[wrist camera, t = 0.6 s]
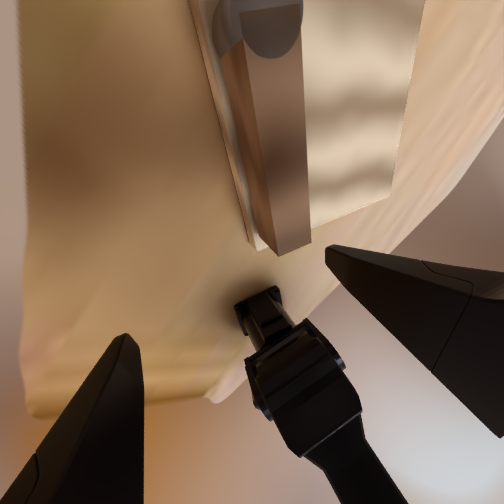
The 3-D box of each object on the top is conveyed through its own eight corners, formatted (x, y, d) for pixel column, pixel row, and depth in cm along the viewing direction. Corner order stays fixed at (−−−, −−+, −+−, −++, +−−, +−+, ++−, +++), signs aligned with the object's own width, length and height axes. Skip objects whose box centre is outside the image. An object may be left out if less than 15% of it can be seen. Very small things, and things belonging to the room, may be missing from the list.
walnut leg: (203, -4, 12) (223, -52, 8) (262, -12, 12) (300, -59, 9) (257, 237, 21) (276, 257, 17) (289, 224, 21) (313, 241, 18)
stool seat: (375, 192, 27) (422, 206, 23) (250, 243, 24) (275, 273, 19) (411, -64, 16) (522, -144, 11) (178, -42, 12) (196, -148, 7)
